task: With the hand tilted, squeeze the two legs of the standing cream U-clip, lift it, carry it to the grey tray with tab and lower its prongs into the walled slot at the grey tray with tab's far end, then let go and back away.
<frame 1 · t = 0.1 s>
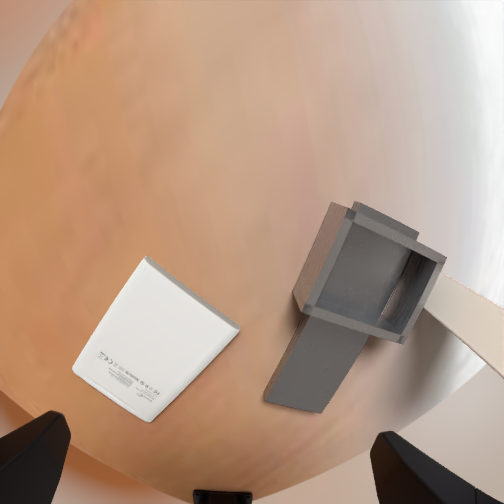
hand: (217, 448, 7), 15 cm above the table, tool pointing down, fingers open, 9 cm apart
clip: (440, 298, 23), on the table
external hard drive: (149, 344, 23), on the table
grey tray with tab: (337, 317, 22), on the table
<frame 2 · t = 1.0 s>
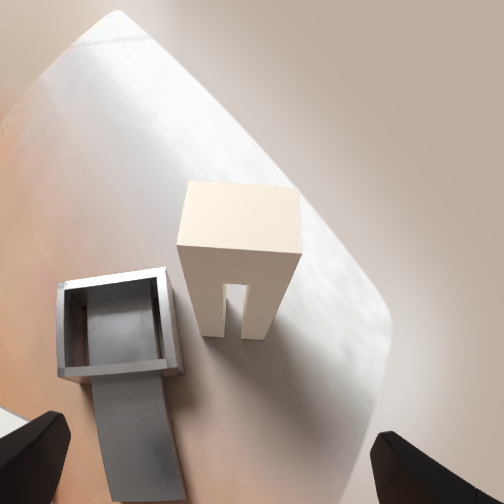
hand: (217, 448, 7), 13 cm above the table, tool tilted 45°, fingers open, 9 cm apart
clip: (233, 318, 23), on the table
external hard drive: (16, 480, 15), on the table
grey tray with tab: (130, 390, 19), on the table
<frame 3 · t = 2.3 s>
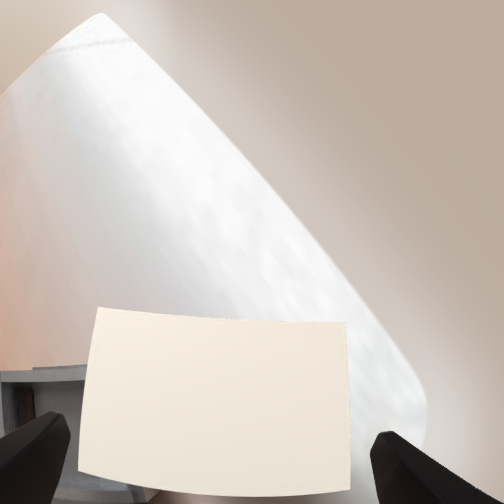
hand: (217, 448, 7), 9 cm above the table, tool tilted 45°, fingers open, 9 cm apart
clip: (223, 420, 15), on the table
grey tray with tab: (96, 500, 12), on the table
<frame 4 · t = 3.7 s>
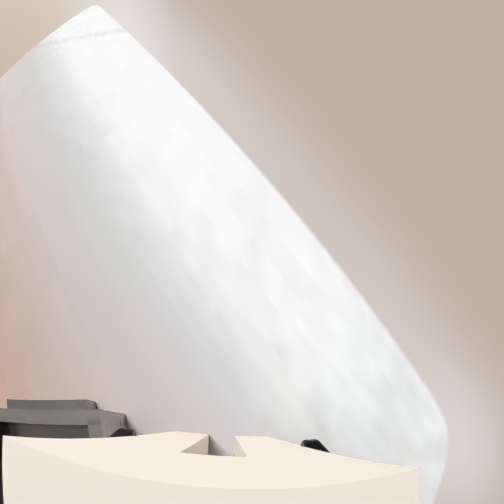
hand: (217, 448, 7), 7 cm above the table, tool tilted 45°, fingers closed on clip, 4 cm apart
clip: (220, 464, 12), on the table, touching gripper
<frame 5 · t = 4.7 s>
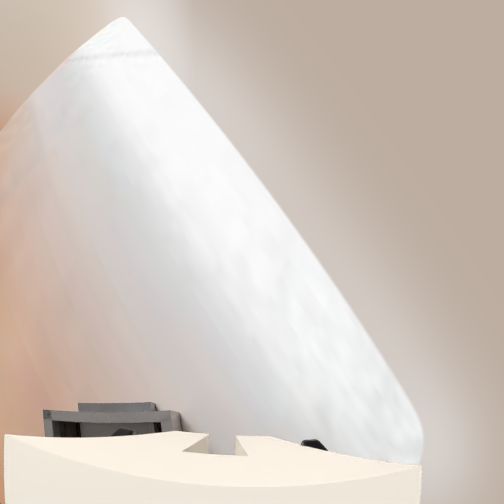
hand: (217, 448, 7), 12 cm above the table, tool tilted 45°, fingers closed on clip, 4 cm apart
clip: (221, 464, 12), point 5 cm above the table, touching gripper
when the fingers open (9 cm above the table, at t = 6.0 s): clip drops 2 cm, resting on grey tray with tab.
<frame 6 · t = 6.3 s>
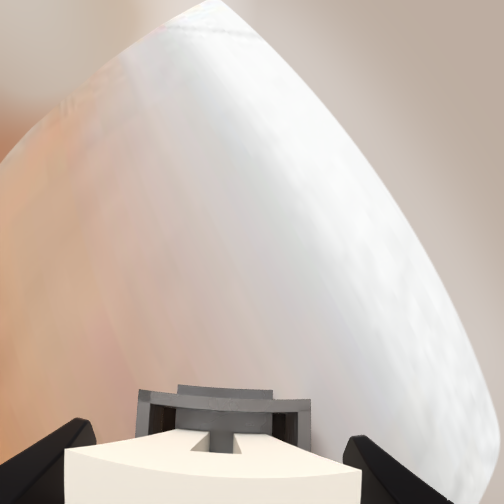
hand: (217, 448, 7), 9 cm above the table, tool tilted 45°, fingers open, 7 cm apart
clip: (220, 458, 14), point 1 cm above the table, touching grey tray with tab
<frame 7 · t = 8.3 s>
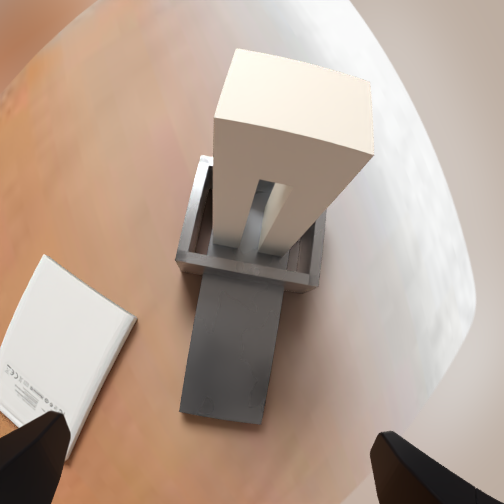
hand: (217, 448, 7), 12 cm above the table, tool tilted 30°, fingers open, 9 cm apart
clip: (251, 227, 20), point 1 cm above the table, touching grey tray with tab
external hard drive: (56, 360, 19), on the table
grey tray with tab: (240, 293, 20), on the table
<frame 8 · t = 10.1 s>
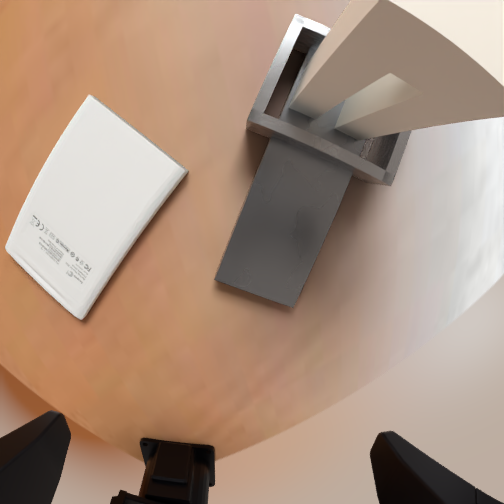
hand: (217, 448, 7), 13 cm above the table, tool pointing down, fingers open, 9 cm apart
clip: (333, 101, 16), point 1 cm above the table, touching grey tray with tab
external hard drive: (88, 209, 19), on the table
grey tray with tab: (304, 165, 18), on the table
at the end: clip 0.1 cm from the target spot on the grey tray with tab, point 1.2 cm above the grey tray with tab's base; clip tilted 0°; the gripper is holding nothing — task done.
